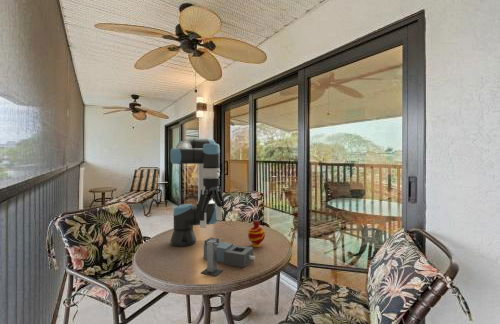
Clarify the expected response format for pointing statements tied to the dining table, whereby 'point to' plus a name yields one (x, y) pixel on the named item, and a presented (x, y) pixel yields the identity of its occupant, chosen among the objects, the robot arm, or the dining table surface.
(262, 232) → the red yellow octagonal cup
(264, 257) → the dining table surface
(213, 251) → the gray block with peg
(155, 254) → the dining table surface
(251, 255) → the block with square socket
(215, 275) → the mat
